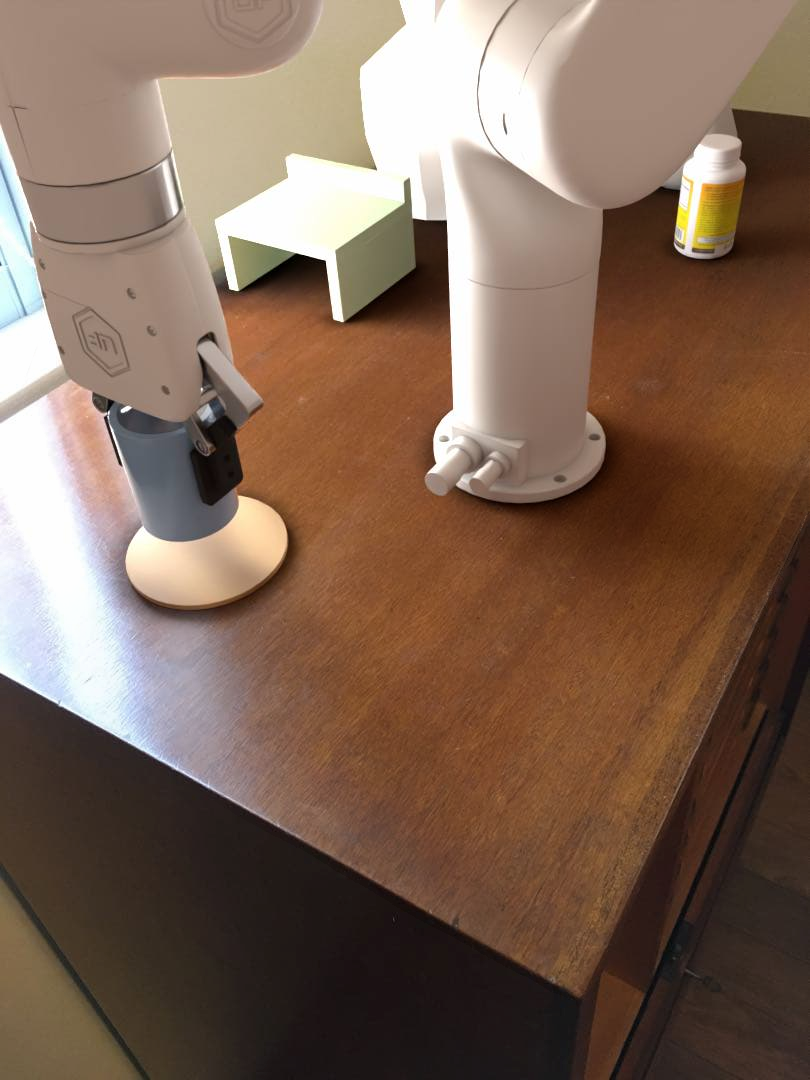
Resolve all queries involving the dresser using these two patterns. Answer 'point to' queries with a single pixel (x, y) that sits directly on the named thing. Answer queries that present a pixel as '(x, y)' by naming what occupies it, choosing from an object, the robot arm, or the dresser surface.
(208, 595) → the coaster
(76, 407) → the dresser surface
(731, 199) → the supplement bottle
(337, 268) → the shelf
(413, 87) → the vase
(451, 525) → the dresser surface
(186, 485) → the cup
